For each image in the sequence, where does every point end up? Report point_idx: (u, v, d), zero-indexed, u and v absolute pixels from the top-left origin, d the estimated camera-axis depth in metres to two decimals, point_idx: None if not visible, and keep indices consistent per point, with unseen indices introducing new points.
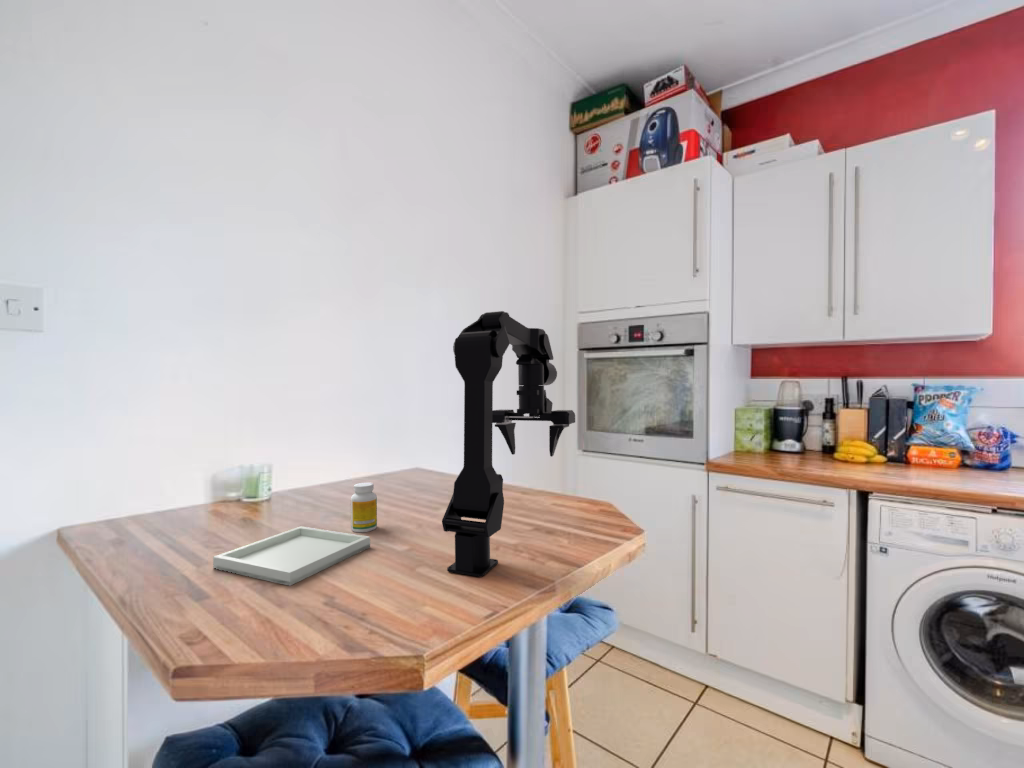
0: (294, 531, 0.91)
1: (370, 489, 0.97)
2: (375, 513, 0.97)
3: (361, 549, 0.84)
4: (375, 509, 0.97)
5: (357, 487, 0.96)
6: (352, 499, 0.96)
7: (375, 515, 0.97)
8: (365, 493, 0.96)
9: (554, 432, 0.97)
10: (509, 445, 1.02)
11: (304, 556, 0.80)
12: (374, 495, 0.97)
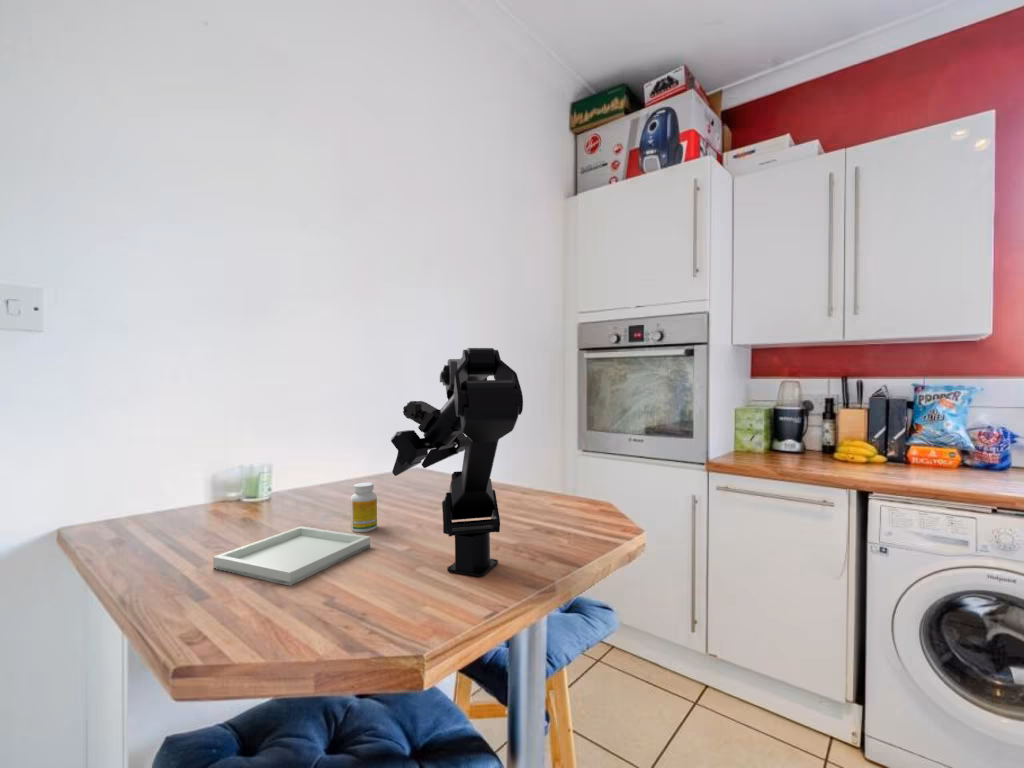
0: (294, 531, 0.91)
1: (370, 489, 0.97)
2: (375, 513, 0.97)
3: (361, 549, 0.84)
4: (375, 509, 0.97)
5: (357, 487, 0.96)
6: (352, 499, 0.96)
7: (375, 515, 0.97)
8: (365, 493, 0.96)
9: (449, 456, 0.95)
10: (402, 472, 0.86)
11: (304, 556, 0.80)
12: (374, 495, 0.97)
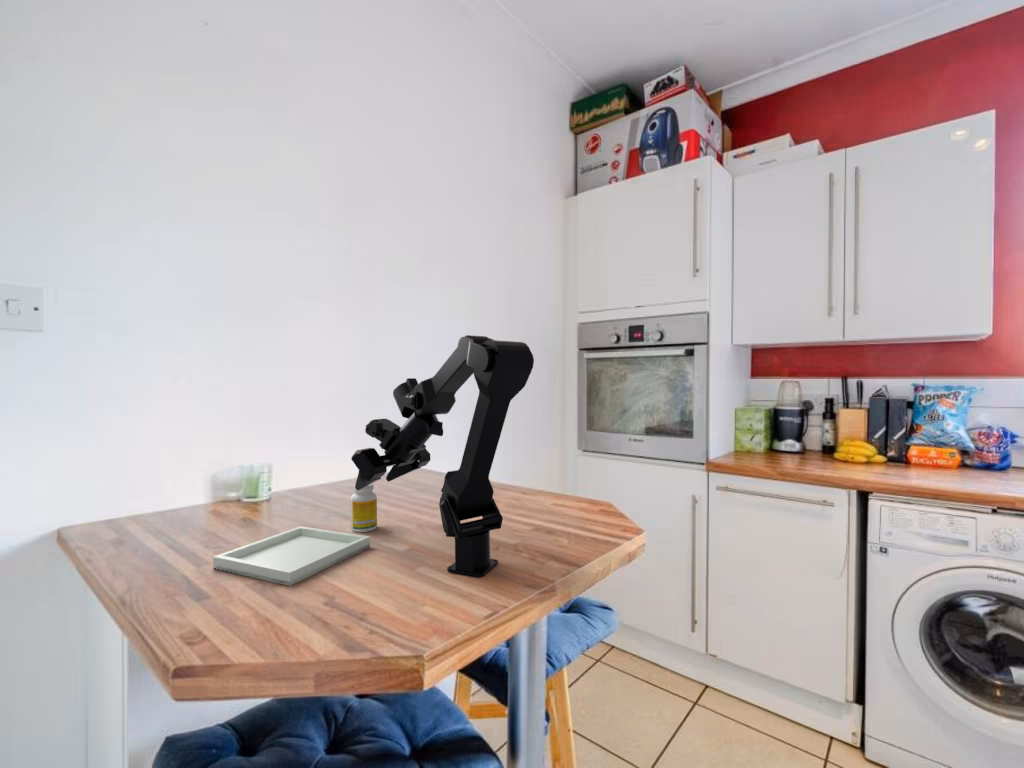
0: (294, 531, 0.91)
1: (370, 489, 0.97)
2: (375, 513, 0.97)
3: (361, 549, 0.84)
4: (375, 509, 0.97)
5: None
6: (352, 499, 0.96)
7: (375, 515, 0.97)
8: (365, 493, 0.96)
9: None
10: None
11: (304, 556, 0.80)
12: (374, 495, 0.97)
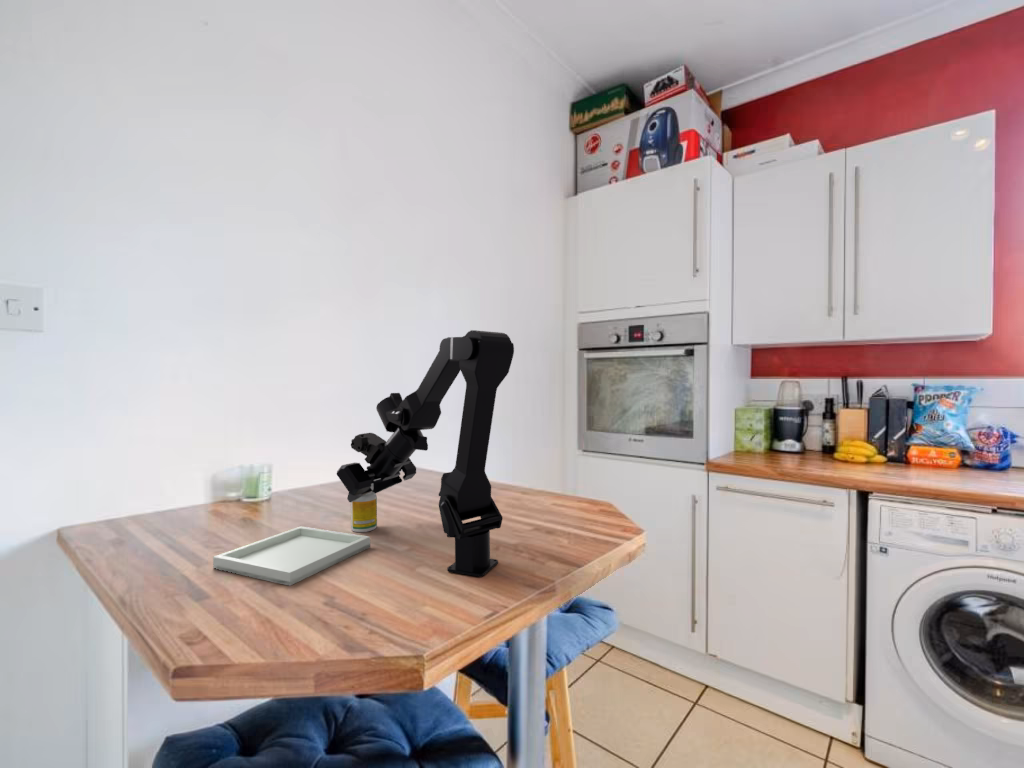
0: (294, 531, 0.91)
1: None
2: (375, 513, 0.97)
3: (361, 549, 0.84)
4: (375, 509, 0.97)
5: None
6: None
7: (375, 515, 0.97)
8: None
9: (392, 485, 1.00)
10: None
11: (304, 556, 0.80)
12: (374, 495, 0.97)
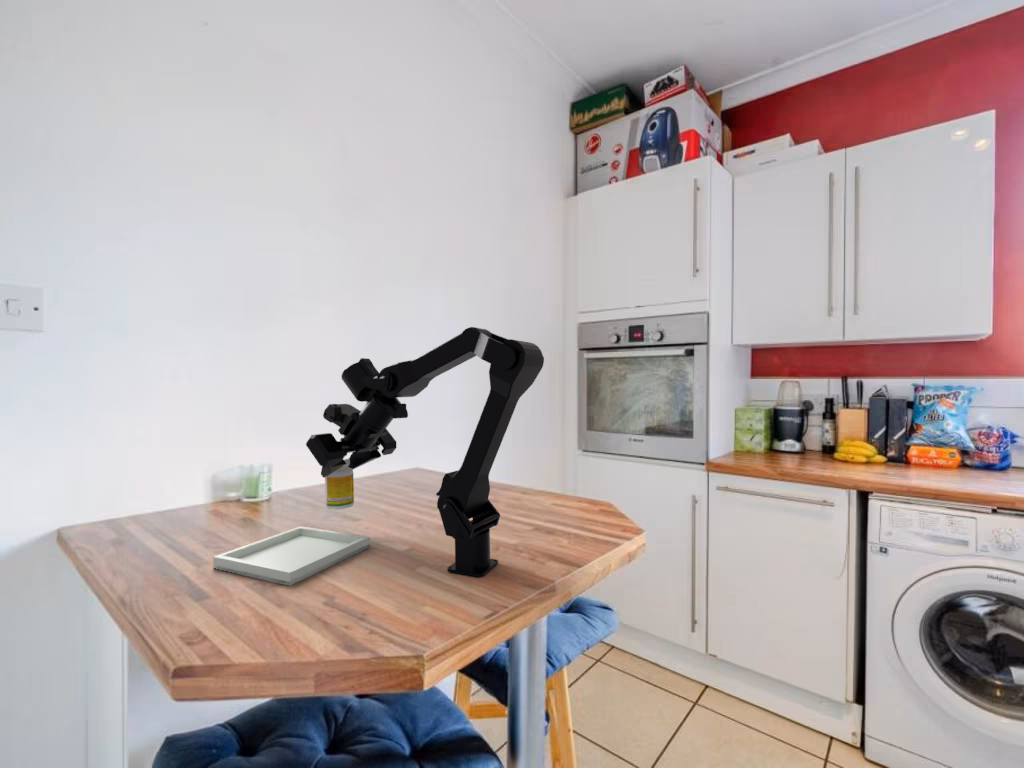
0: (294, 531, 0.91)
1: (346, 463, 0.90)
2: (351, 489, 0.91)
3: (361, 549, 0.84)
4: (351, 485, 0.91)
5: None
6: None
7: (351, 492, 0.91)
8: (340, 468, 0.90)
9: (370, 460, 0.93)
10: (330, 473, 0.88)
11: (304, 556, 0.80)
12: (350, 471, 0.91)
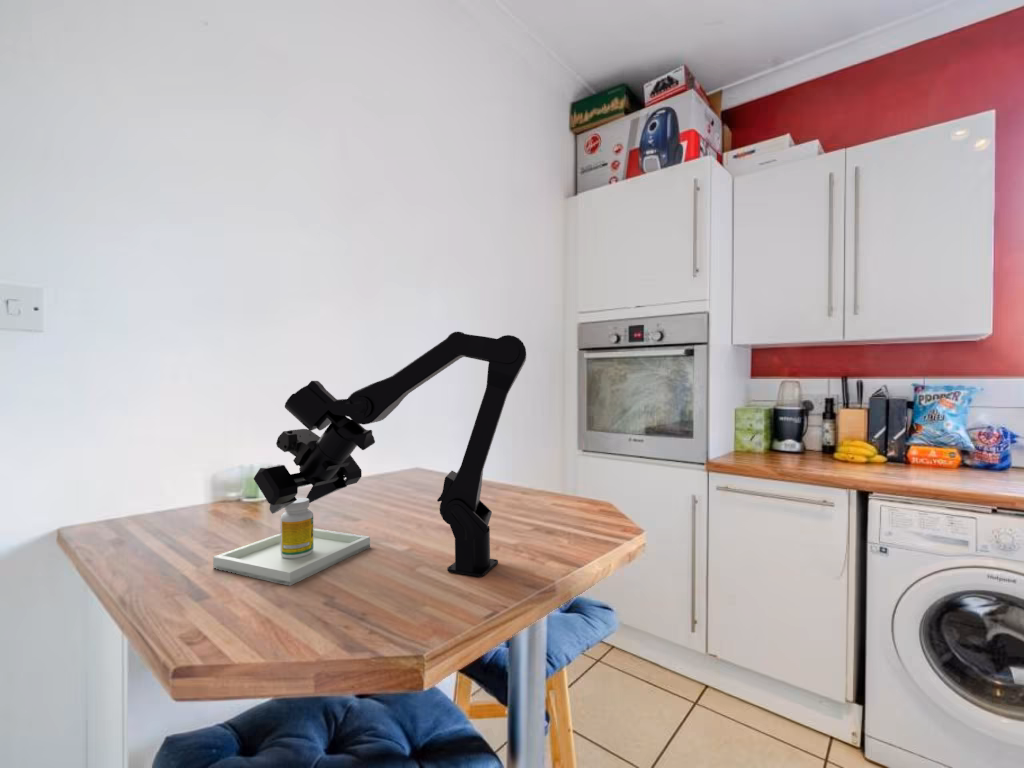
0: None
1: (304, 506, 0.81)
2: (310, 535, 0.81)
3: (361, 549, 0.84)
4: (310, 530, 0.81)
5: None
6: (281, 518, 0.80)
7: (310, 537, 0.81)
8: (297, 511, 0.80)
9: None
10: (279, 509, 0.77)
11: (304, 556, 0.80)
12: (309, 514, 0.81)
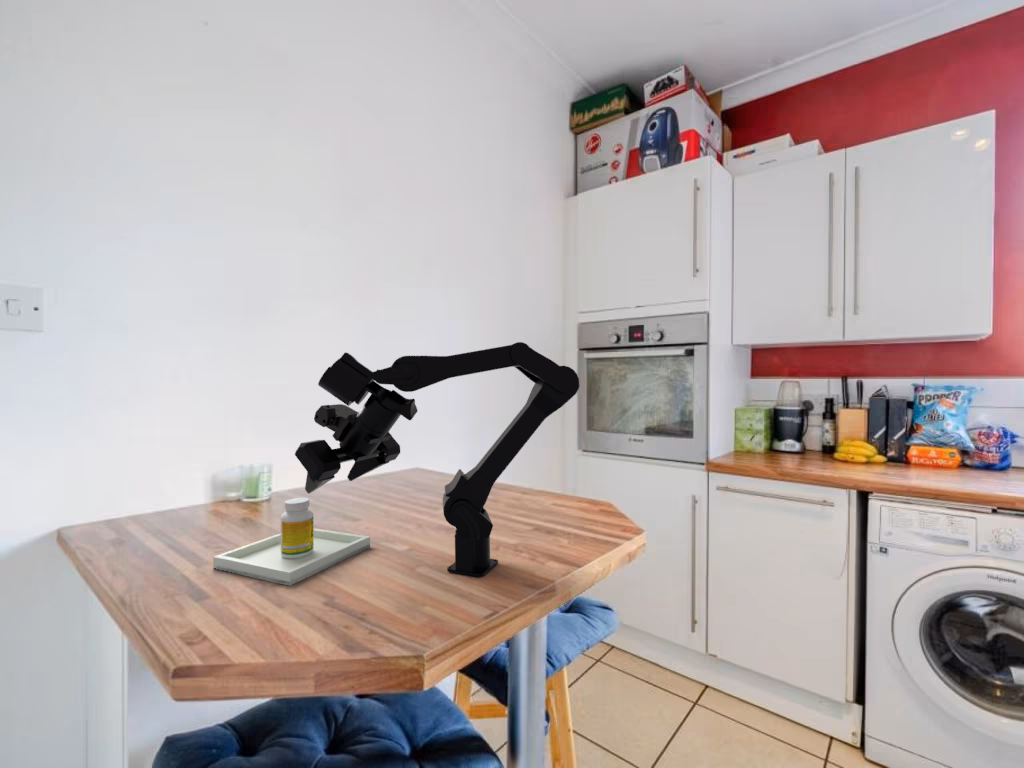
0: None
1: (304, 506, 0.81)
2: (310, 535, 0.81)
3: (361, 549, 0.84)
4: (310, 530, 0.81)
5: (288, 504, 0.80)
6: (281, 518, 0.80)
7: (310, 537, 0.81)
8: (297, 512, 0.80)
9: None
10: None
11: (304, 556, 0.80)
12: (309, 514, 0.81)
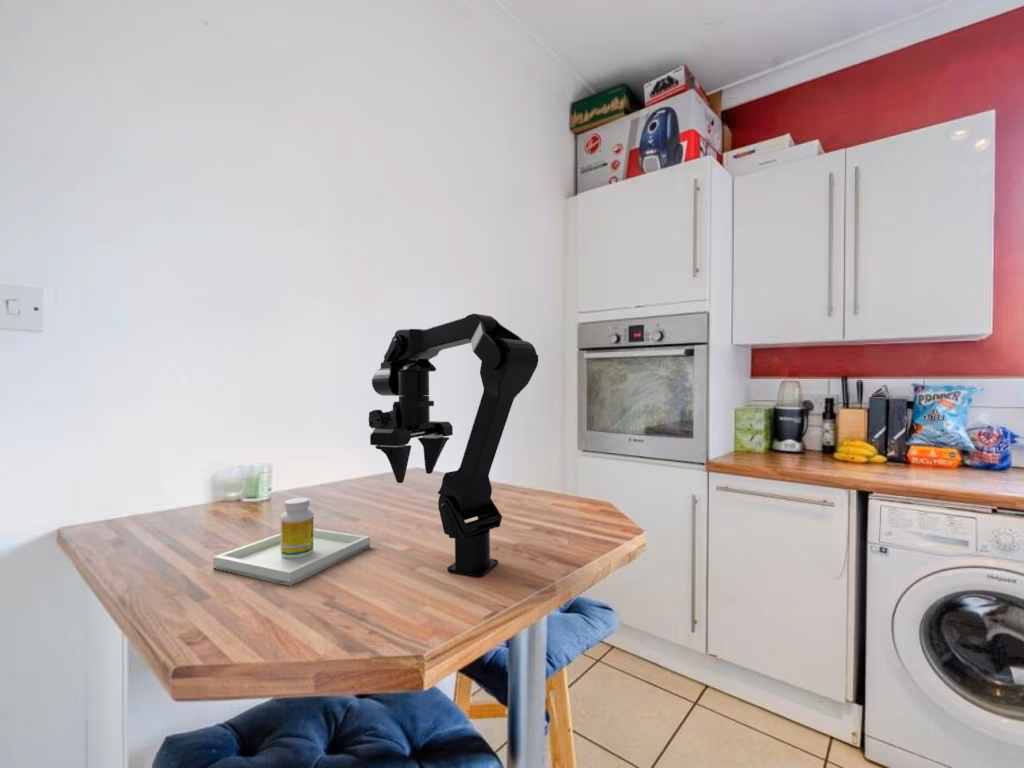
0: None
1: (304, 506, 0.81)
2: (310, 535, 0.81)
3: (361, 549, 0.84)
4: (310, 530, 0.81)
5: (287, 504, 0.80)
6: (281, 518, 0.80)
7: (310, 537, 0.81)
8: (297, 512, 0.80)
9: (443, 445, 0.91)
10: (404, 471, 0.81)
11: (304, 556, 0.80)
12: (309, 514, 0.81)
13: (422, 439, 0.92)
